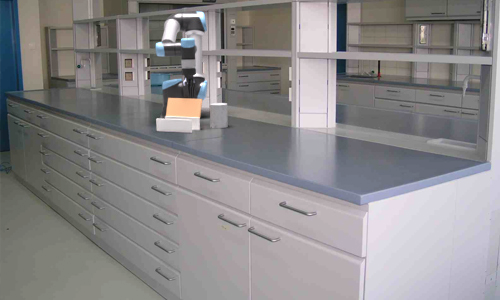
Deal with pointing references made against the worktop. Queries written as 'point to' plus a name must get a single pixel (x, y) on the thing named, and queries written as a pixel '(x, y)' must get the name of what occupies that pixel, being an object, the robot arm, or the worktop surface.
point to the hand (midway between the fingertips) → (190, 111)
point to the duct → (178, 124)
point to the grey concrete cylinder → (218, 115)
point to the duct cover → (184, 107)
